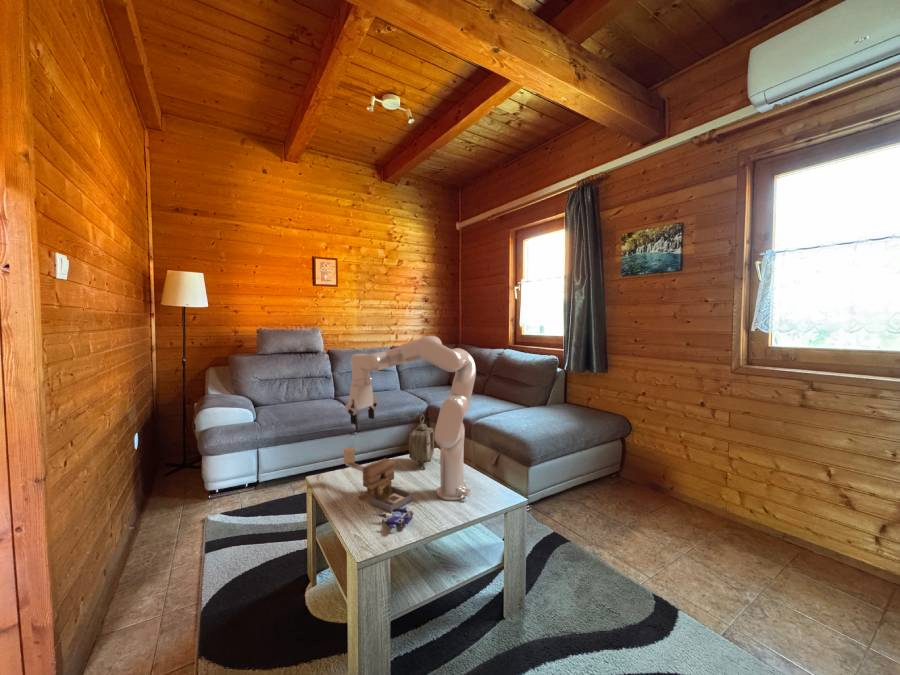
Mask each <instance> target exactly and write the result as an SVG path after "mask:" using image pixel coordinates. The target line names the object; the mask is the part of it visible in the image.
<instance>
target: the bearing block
mask: <svg viewBox="0 0 900 675" xmlns="http://www.w3.org/2000/svg"><path fill="white" fill-rule="evenodd" d="M380 474H382V478H380ZM394 479H395V461H394V460H392V459H390V458H386V457H385V458H383V459H379V460H378V461H375V462H372V463H371V464H368V465H365V466H363V472H362V486H363V487H365V488H366V491H364V492H362V493H360V494H359V495H357V499H359V500H360V501H362V502H364V503H367V504H370V497H372V496H374V495H376V494H378V485H379V484H381V483H383V482H385V481H387V480H391V481H392V480H394ZM386 489H387V486H386V487H384V488H383V491H384V490H386Z"/></svg>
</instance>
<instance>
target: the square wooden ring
mask: <svg viewBox="0 0 900 675" xmlns="http://www.w3.org/2000/svg"><path fill="white" fill-rule="evenodd" d="M404 498H405V497H402V496H400V495H397V494H395V493H394V494H392V495H390V496H388V497H386V498H384V499H383V503H385V504H388V505H390V506H391V505H393V504H395V503H396V502H398V501H400V500H402V499H404ZM393 499H395V501H392V500H393Z"/></svg>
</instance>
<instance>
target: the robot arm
mask: <svg viewBox="0 0 900 675" xmlns="http://www.w3.org/2000/svg"><path fill="white" fill-rule="evenodd" d="M350 360H351V382H352V384H351V385H350V390H349V400H348V403H347V404H345V405H344V409H345V410H346V412H347V413H348V415H350V424H352V425H357V424H358V422H357V420H358V419H357V418H358V417H357V412H358V411H359V410H362V409H367V408H368V409H367V410H368V411H367V415H368V417H367V418H368V419H371V420H374V419H375V410H376V407H377V405H378V401H379V398H377V397H375V396H374V390H373V387H372V384H371V381H372V378H371V373H370V372H378V371H382V370H385V369H387V368H391V367H395V366H399V365H402V364H411V363H413V362H414V363H415V362H417V361H421V360H425V361H426V362H428V363H430V364H432V365H434V366H436V367H438V368H440V369H441V370H443V371H446V372H449V373H455V374H454V377H453V380H452V385H451V388H450V392H449V394H448V397H447V398H445V399H444V401H443V402H442V404H441V405H440V406H441V407H440V410H439V413H438V417H437V421H436V425H435V428H434V442H435V443H436V444H437V445H438V446H439V447H440V450H439V451H440V454H439V455H440V456H439V457H440V459H439V460H440V461H439V462H440V464H439V465H440V470H439V471H440V472H439V474H440V475H439V478H440V480H439V481H440V483H439V484H440V486H439V487H437V489H436V495H437V497H438V498H440V499H442V500H445V501H460V500H462V499H464V498H465V497H468V498H469V497H470V496H471V491H472V490H471V489H470V488H468V487H467V486H466V485H467V483H465V481H464V453H465V452H464V449H465V448H464V446H465V432H466V431H465V430H466V429H465V424H464V417H465V416H466V415H467V412H468V410H469V408H470V403H471V399H472V395H473V390H474V385H475V381H476V376H477V367H476V363H475V360H474V358H473V356H472V355H471V354H470V353H469V352H468V351H466V350H465V349H462V348H460V347H456V348H449V347H447V346H445V345H444V344H443V342H442V340H441V339H440V338H439V337H438V336H436V335H427V336H422V337H421V338H419V339H415V340H412V341H407V342H405V343H402V344H400V345H399V346H398V347H395V348H391V349H387V350H384V351H379V352H374V353H370V354H367V353H354V354H352V355H351V357H350Z"/></svg>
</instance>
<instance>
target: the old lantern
mask: <svg viewBox="0 0 900 675" xmlns="http://www.w3.org/2000/svg"><path fill="white" fill-rule="evenodd" d="M422 418H423V419H422ZM424 422H425V414H422V415H420V418H419V423H420V424H418V425H417V427H416V428H414V429H413V430H412V431H411V432H410V434H409V436H408V452H409V453H408V456H409V459H411V460H412V461H416V465H417V464H419V465H420V462H421V464H422V470H426V468H427V467H426V465H425V463H424V462H431V461H432V457H433V455H434V450H435V437H434V433H435V428H434V427H428V426H427V424H425V423H424Z"/></svg>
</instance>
